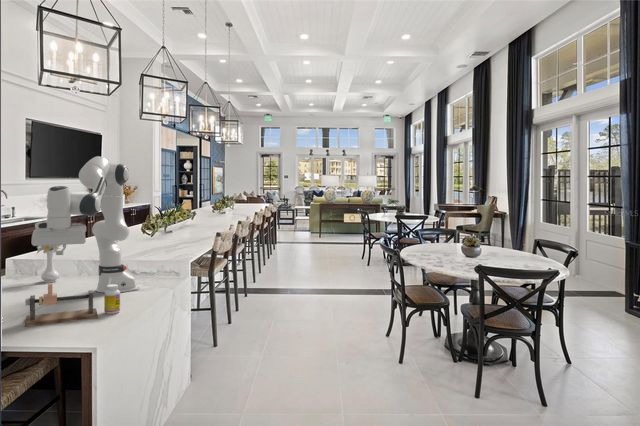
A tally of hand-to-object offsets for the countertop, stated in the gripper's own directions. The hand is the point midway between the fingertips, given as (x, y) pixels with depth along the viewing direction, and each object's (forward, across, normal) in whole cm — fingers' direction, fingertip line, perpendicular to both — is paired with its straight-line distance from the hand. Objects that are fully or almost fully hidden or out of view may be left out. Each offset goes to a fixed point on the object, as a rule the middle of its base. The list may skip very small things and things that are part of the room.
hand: (59, 254), depth 186 cm
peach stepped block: (+21, +4, 0) cm, 21 cm away
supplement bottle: (+29, -21, -1) cm, 36 cm away
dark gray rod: (+21, 0, 0) cm, 21 cm away
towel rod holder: (+29, -1, 0) cm, 29 cm away
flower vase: (+29, +6, -81) cm, 86 cm away
